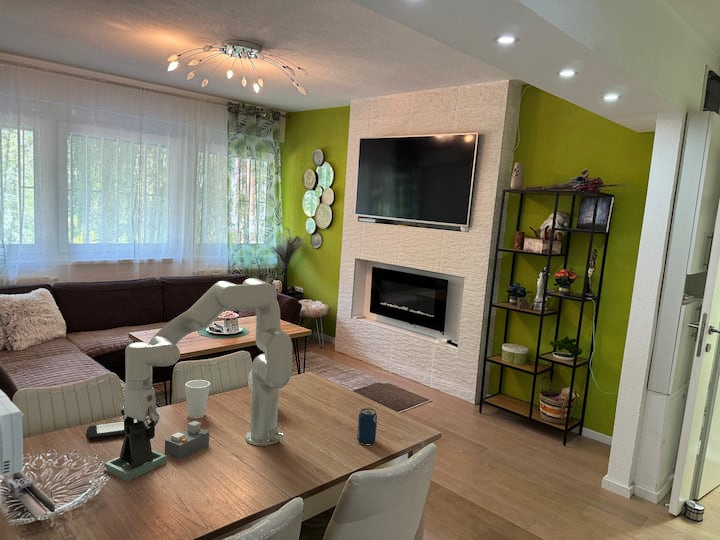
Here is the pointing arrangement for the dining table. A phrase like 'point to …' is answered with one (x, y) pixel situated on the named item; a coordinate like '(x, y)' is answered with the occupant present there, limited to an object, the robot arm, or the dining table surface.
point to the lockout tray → (130, 472)
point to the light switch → (106, 430)
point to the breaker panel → (187, 444)
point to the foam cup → (197, 397)
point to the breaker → (194, 427)
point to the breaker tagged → (177, 437)
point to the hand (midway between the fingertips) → (139, 434)
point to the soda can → (367, 426)
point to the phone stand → (136, 445)
